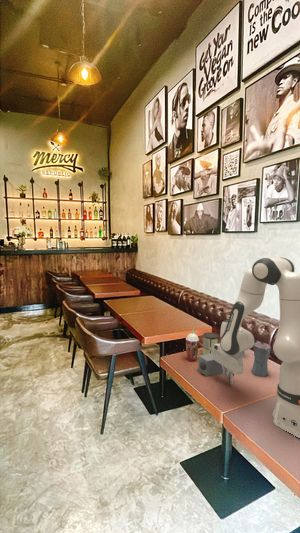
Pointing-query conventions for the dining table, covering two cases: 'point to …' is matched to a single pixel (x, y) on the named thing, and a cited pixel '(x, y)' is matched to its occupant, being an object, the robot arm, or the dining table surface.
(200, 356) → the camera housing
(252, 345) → the robot arm
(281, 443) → the dining table surface
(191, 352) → the smoothie
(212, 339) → the coffee can
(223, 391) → the dining table surface
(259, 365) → the moka pot
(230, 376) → the side door
